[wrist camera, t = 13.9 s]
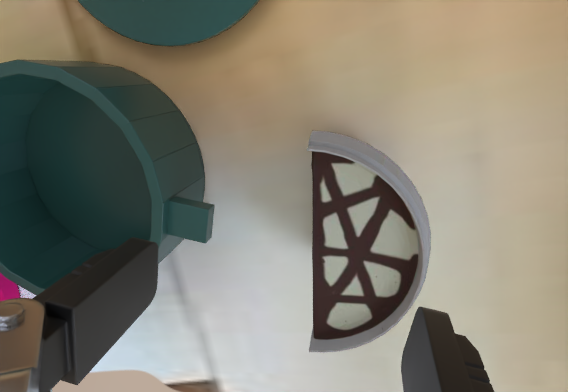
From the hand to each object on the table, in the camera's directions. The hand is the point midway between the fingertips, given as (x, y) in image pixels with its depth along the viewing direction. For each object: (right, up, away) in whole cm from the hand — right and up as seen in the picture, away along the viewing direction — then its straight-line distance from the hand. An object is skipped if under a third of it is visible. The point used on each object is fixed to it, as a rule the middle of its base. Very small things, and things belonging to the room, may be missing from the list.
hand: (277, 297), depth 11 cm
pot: (-14, +5, +20) cm, 25 cm away
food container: (+6, +3, +17) cm, 18 cm away
